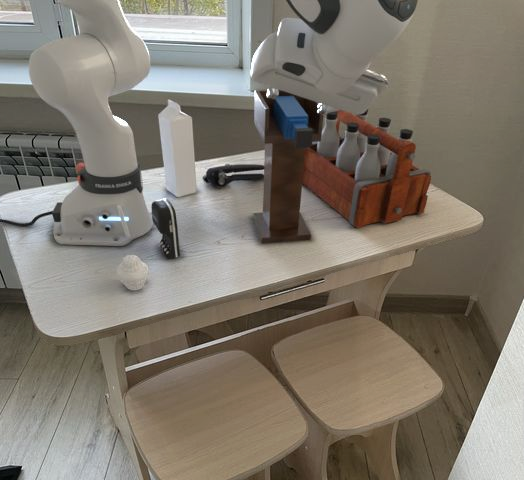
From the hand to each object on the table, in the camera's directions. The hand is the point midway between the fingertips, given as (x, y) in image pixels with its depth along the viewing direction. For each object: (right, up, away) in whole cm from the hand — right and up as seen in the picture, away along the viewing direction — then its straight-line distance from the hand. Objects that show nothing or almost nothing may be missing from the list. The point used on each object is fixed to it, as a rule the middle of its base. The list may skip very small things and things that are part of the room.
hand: (296, 102), depth 85 cm
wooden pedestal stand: (-1, -14, +33) cm, 36 cm away
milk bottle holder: (+19, -2, +47) cm, 51 cm away
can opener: (-13, +3, +51) cm, 53 cm away
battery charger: (-27, -21, +24) cm, 42 cm away
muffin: (-31, -30, +15) cm, 46 cm away
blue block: (0, +1, +13) cm, 13 cm away
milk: (-27, 0, +47) cm, 54 cm away
